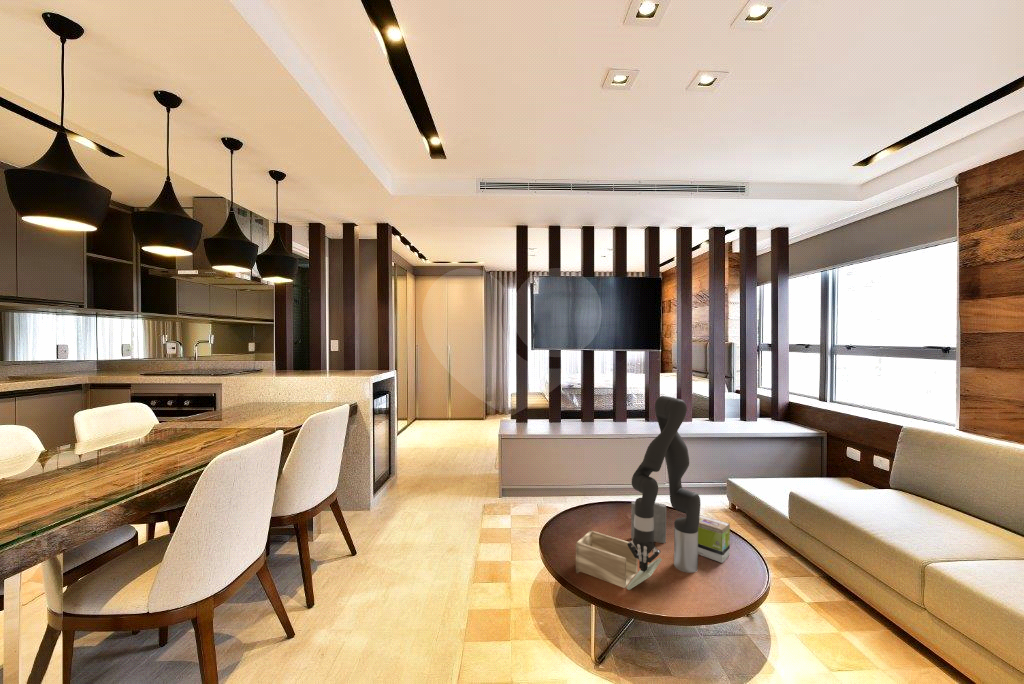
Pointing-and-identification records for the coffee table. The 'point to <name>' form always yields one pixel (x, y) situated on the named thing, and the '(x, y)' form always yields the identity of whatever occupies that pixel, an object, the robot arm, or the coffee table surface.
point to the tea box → (713, 539)
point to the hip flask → (658, 522)
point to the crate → (606, 558)
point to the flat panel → (644, 574)
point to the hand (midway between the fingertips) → (643, 570)
